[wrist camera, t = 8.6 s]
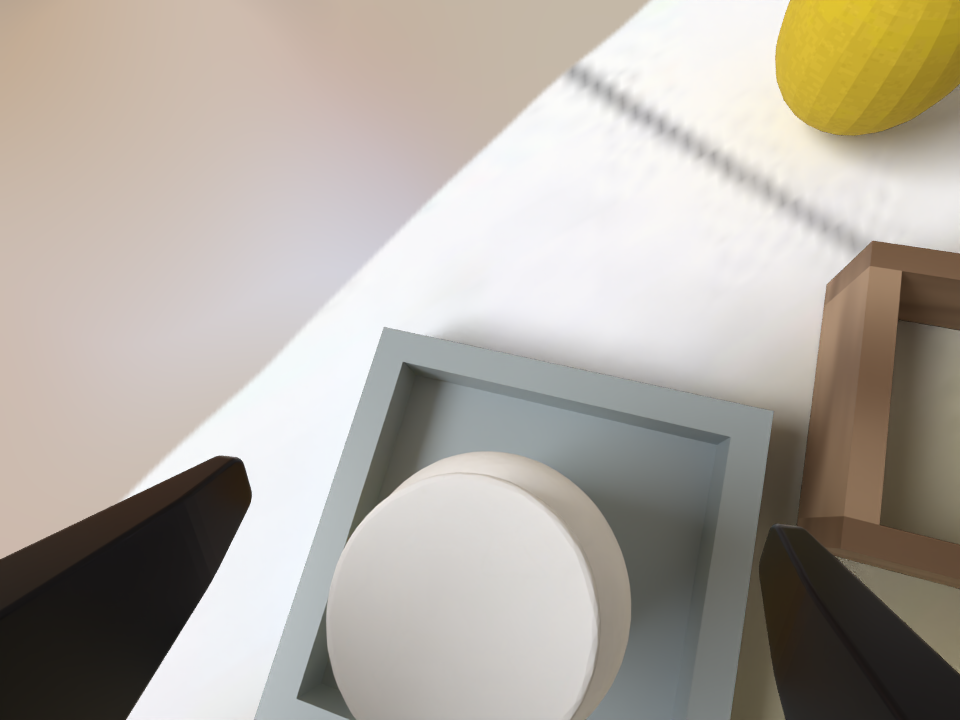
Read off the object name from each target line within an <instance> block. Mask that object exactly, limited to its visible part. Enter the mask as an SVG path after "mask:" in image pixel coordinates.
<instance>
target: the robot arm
mask: <svg viewBox="0 0 960 720" xmlns="http://www.w3.org/2000/svg"><path fill="white" fill-rule="evenodd" d="M251 498H252V492H251V487H250V484H249V480H248V477H247V473H246V470H245V466H244V463H243V462H242V460H241V459H239V458H237V457H230V456H216V457H214V458H212V459H209V460H207V461H205V462H203V463H201V464H199V465H197V466H195V467H193V468H191V469H188V470H186V471H184V472H182V473H180V474H178V475H176V476H174V477H172V478H170V479H168V480H165V481H163V482H161V483H159V484H157V485H155V486H153V487H151V488H149V489H147V490H145V491H142V492H140V493H138V494H136V495H134V496H132V497H130V498H128V499H126V500H124V501H121V502H119V503H117V504H115V505H113V506H111V507H109V508H107V509H105V510H103V511H101V512H98V513H96V514H94V515H92V516H90V517H88V518H86V519H84V520H82V521H80V522H78V523H76V524H74V525H71V526H69V527H67V528H65V529H63V530H61V531H59V532H57V533H54V534H53V535H50V536H48V537H46V538H44V539H42V540H40V541H38V542H36V543H34V544H31V545H29V546H27V547H25V548H23V549H21V550H19V551H17V552H15V553H13V554H11V555H9V556H6V557H5V558H2V559H0V720H126V719H127V718H128V716H129V714H130V713H131V711H132V709H133V708H134V706H135V705H136V703H137V701H138V700H139V698H140V697H141V695H142V693H143V692H144V690H145V689H146V687H147V685H148V684H149V682H150V680H151V679H152V677H153V676H154V674H155V672H156V671H157V669H158V668H159V666H160V664H161V663H162V661H163V659H164V658H165V656H166V655H167V653H168V651H169V650H170V648H171V647H172V645H173V643H174V642H175V640H176V639H177V637H178V635H179V634H180V632H181V630H182V629H183V627H184V626H185V624H186V622H187V621H188V619H189V618H190V616H191V614H192V613H193V611H194V609H195V608H196V606H197V605H198V603H199V601H200V600H201V598H202V597H203V595H204V593H205V592H206V590H207V588H208V587H209V585H210V583H211V581H212V580H213V578H214V576H215V574H216V572H217V570H218V568H219V567H220V565H221V563H222V560H223V558H224V556H225V554H226V552H227V550H228V548H229V546H230V544H231V542H232V540H233V538H234V536H235V534H236V532H237V530H238V528H239V526H240V524H241V522H242V520H243V518H244V516H245V514H246V512H247V510H248V508H249V505H250V503H251ZM759 576H760V584H761V590H762V597H763V604H764V611H765V618H766V624H767V631H768V638H769V645H770V652H771V658H772V664H773V670H774V676H775V680H776V684H777V688H778V693H779V696H780V700H781V704H782V708H783V711H784V715H785V719H786V720H960V674H959V673H958V672H957V671H956V670H955V669H954V668H952V667H951V666H950V665H949V664H948V663H947V662H946V661H945V660H944V659H943V658H942V657H941V656H940V655H939V654H938V653H937V652H935V651H934V650H933V649H932V648H931V647H930V646H929V645H928V644H927V643H926V642H925V641H924V640H923V639H922V638H921V637H920V636H919V635H917V634H916V633H915V632H914V631H913V630H912V629H911V628H910V627H909V626H908V625H907V624H906V623H905V622H904V621H903V620H902V619H900V618H899V617H898V616H897V615H896V614H895V613H894V612H893V611H892V610H891V609H890V608H889V607H888V606H887V605H886V604H885V603H883V602H882V601H881V600H880V599H879V598H878V597H877V596H876V595H875V594H874V593H873V592H872V591H871V590H870V589H869V588H868V587H866V586H865V585H864V584H863V583H862V582H861V581H860V580H859V579H858V578H857V577H856V576H855V575H854V574H853V573H852V572H851V571H849V570H848V569H847V568H846V567H845V566H844V565H843V564H842V563H841V562H840V561H839V560H838V559H837V558H836V557H835V556H834V555H833V554H831V553H830V552H829V551H828V550H827V549H826V548H825V547H824V546H823V545H822V544H821V543H820V542H819V541H818V540H817V539H816V538H814V537H813V536H812V535H811V534H810V533H809V532H808V531H807V530H806V529H804V528H802V527H799V526H793V525H785V524H775V525H773V526H772V527H771V529H770V531H769V534H768V537H767V540H766V543H765V547H764V550H763V553H762V556H761V559H760V565H759Z"/></svg>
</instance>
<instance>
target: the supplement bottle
mask: <svg viewBox="0 0 960 720" xmlns="http://www.w3.org/2000/svg"><path fill="white" fill-rule="evenodd" d="M630 623H631V593H630V584H629V578H628V573H627V569H626V565H625V561H624V558H623V555H622V552H621V549H620V547H619V545H618V542H617V540H616V538H615V536H614V534H613V532H612V530H611V528H610V526H609V524H608V522H607V521H606V519H605V517H604V516H603V514H602V513H601V512H600V510H599V509H598V507H597V506H596V505H595V504H594V503H593V501H592V500H591V499H590V498H589V497H588V496H587V495H586V494H585V493H584V492H583V491H582V490H581V489H580V488H579V487H578V486H576V485H575V484H574V483H573V482H572V481H570V480H569V479H568V478H566V477H565V476H563V475H562V474H561V473H559V472H558V471H556V470H554V469H552V468H550V467H549V466H547V465H545V464H543V463H540V462H538V461H535V460H532V459H530V458H527V457H524V456H520V455H516V454H510V453H505V452H493V451H480V452H470V453H464V454H459V455H455V456H451V457H448V458H444V459H442V460H439V461H437V462H435V463H433V464H431V465H429V466H427V467H425V468H423V469H421V470H420V471H418V472H417V473H415V474H414V475H412V476H411V477H410V478H408V479H407V480H406V481H404V482H403V483H402V484H401V485H400V486H399V487H397V488H396V489H395V490H394V491H393V492H392V493H391V495H390V496H389V497H387V498H386V499H384V500H383V501H382V502H381V503H380V504H378V505H377V506H376V507H375V508H374V509H373V510H372V511H371V512H370V513H369V514H368V515H367V516H366V517H365V518H364V519H363V521H362V522H361V523H360V524H359V526H358V527H357V528H356V530H355V531H354V532H353V534H352V535H351V537H350V538H349V540H348V542H347V544H346V546H345V548H344V550H343V551H342V553H341V556H340V558H339V560H338V563H337V565H336V568H335V572H334V575H333V578H332V582H331V586H330V590H329V596H328V602H327V614H326V631H327V646H328V653H329V657H330V661H331V666H332V670H333V674H334V677H335V679H336V682H337V685H338V688H339V690H340V692H341V694H342V696H343V698H344V700H345V702H346V704H347V706H348V708H349V710H350V712H351V713H352V715H353V716H354V717H355V719H356V720H585V719H586V718H587V717H589V715H590V714H591V713H592V712H593V711H594V710H595V709H596V707H597V706H598V705H599V703H600V702H601V701H602V699H603V698H604V697H605V695H606V694H607V692H608V690H609V689H610V687H611V686H612V683H613V681H614V679H615V677H616V675H617V673H618V671H619V669H620V666H621V664H622V661H623V657H624V654H625V650H626V647H627V643H628V637H629V630H630Z"/></svg>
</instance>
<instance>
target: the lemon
mask: <svg viewBox="0 0 960 720" xmlns="http://www.w3.org/2000/svg"><path fill="white" fill-rule="evenodd" d="M775 60H776V77H777V83H778V86H779V88H780V91H781V94H782V96H783V99H784V101H785V102H786V104H787V105H788V106H789V108H790V109H791V110H792V112H793V113H794V114H795V116H797V117H798V118H799V119H801V120H802V121H803V122H805V123H806V124H807V125H809V126H812V127H814V128H816V129H818V130H820V131H823V132H828V133H832V134H836V135H854V136H855V135H863V134H869V133H875V132H880V131H883V130H886V129H889V128H892V127H894V126H897V125H900V124H902V123H905V122H907V121H909V120H911V119H913V118H915V117H916V116H918V115H919V114H921V113H922V112H924V111H925V110H927V109H928V108H930V107H931V106H933V105H934V104H936V103H937V102H939V101H940V100H941V99H943V98H944V97H945V96H946V95H948V94H949V93H950V92H951V91H953V90H954V89H955V88H956V87H957V86H958V85H959V84H960V0H790V2H789V5H788V7H787V10H786V13H785V16H784V19H783V23H782V26H781V29H780V33H779V36H778V40H777V46H776V56H775Z"/></svg>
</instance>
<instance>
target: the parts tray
mask: <svg viewBox="0 0 960 720" xmlns="http://www.w3.org/2000/svg"><path fill="white" fill-rule="evenodd" d="M773 413H774V411H771V410H766V409H762V408H757V407H752V406H748V405H743V404H738V403H734V402H729V401H725V400H720V399H715V398H711V397H706V396H701V395H697V394H692V393H688V392H683V391H678V390H674V389H669V388H664V387H660V386H655V385H651V384H646V383H641V382H637V381H632V380H627V379H623V378H618V377H614V376H609V375H604V374H600V373H595V372H590V371H586V370H581V369H577V368H572V367H567V366H563V365H558V364H553V363H549V362H544V361H540V360H535V359H530V358H526V357H521V356H516V355H512V354H507V353H502V352H498V351H493V350H489V349H484V348H479V347H475V346H470V345H465V344H461V343H456V342H452V341H447V340H442V339H438V338H433V337H428V336H424V335H419V334H415V333H410V332H405V331H401V330H396V329H391V328H387V327H384V328H383V331H382V334H381V337H380V341H379V344H378V347H377V350H376V353H375V356H374V359H373V362H372V365H371V368H370V371H369V374H368V377H367V380H366V383H365V386H364V389H363V392H362V395H361V398H360V401H359V404H358V407H357V410H356V413H355V416H354V419H353V422H352V425H351V428H350V431H349V434H348V437H347V440H346V443H345V446H344V449H343V452H342V455H341V458H340V461H339V464H338V467H337V470H336V473H335V476H334V479H333V482H332V485H331V488H330V492H329V495H328V498H327V501H326V504H325V507H324V510H323V513H322V516H321V519H320V522H319V525H318V528H317V531H316V534H315V537H314V540H313V543H312V546H311V549H310V552H309V555H308V558H307V561H306V564H305V567H304V570H303V573H302V576H301V579H300V582H299V585H298V588H297V591H296V594H295V597H294V600H293V603H292V606H291V609H290V612H289V615H288V618H287V621H286V624H285V627H284V630H283V633H282V636H281V639H280V643H279V646H278V649H277V652H276V655H275V658H274V661H273V664H272V667H271V670H270V673H269V676H268V679H267V682H266V685H265V688H264V691H263V694H262V697H261V700H260V703H259V706H258V709H257V712H256V715H255V718H254V720H356V719H355V717H354V716H353V715H352V713H351V712H350V710H349V708H348V706H347V704H346V702H345V700H344V698H343V696H342V694H341V692H340V690H339V688H338V685H337V682H336V679H335V677H334V674H333V670H332V666H331V661H330V657H329V653H328V646H327V631H326V614H327V602H328V596H329V590H330V586H331V582H332V578H333V575H334V572H335V568H336V565H337V563H338V560H339V558H340V556H341V553H342V551H343V550H344V548H345V546H346V544H347V542H348V540H349V538H350V537H351V535H352V534H353V532H354V531H355V530H356V528H357V527H358V526H359V524H360V523H361V522H362V521H363V519H364V518H365V517H366V516H367V515H368V514H369V513H370V512H371V511H372V510H373V509H374V508H375V507H376V506H377V505H378V504H380V503H381V502H382V501H383V500H384V499H386V498H387V497H389V496H390V495H391V493H392V492H393V491H394V490H395V489H396V488H397V487H399V486H400V485H401V484H402V483H403V482H404V481H406V480H407V479H408V478H410V477H411V476H412V475H414V474H415V473H417V472H418V471H420V470H421V469H423V468H425V467H427V466H429V465H431V464H433V463H435V462H437V461H439V460H442V459H444V458H448V457H451V456H455V455H459V454H464V453H470V452H480V451H493V452H505V453H510V454H516V455H520V456H524V457H527V458H530V459H532V460H535V461H538V462H540V463H543V464H545V465H547V466H549V467H550V468H552V469H554V470H556V471H558V472H559V473H561V474H562V475H563V476H565V477H566V478H568V479H569V480H570V481H572V482H573V483H574V484H575V485H576V486H578V487H579V488H580V489H581V490H582V491H583V492H584V493H585V494H586V495H587V496H588V497H589V498H590V499H591V500H592V501H593V503H594V504H595V505H596V506H597V507H598V509H599V510H600V512H601V513H602V514H603V516H604V517H605V519H606V521H607V522H608V524H609V526H610V528H611V530H612V532H613V534H614V536H615V538H616V540H617V542H618V545H619V547H620V549H621V552H622V555H623V558H624V561H625V565H626V569H627V573H628V578H629V584H630V593H631V623H630V630H629V637H628V643H627V647H626V650H625V654H624V657H623V661H622V664H621V666H620V669H619V671H618V673H617V675H616V677H615V679H614V681H613V683H612V686H611V687H610V689H609V690H608V692H607V694H606V695H605V697H604V698H603V699H602V701H601V702H600V703H599V705H598V706H597V707H596V709H595V710H594V711H593V712H592V713H591V714H590V715H589V717H587V718H586V719H585V720H730V717H731V710H732V703H733V696H734V689H735V682H736V675H737V668H738V661H739V653H740V646H741V639H742V632H743V625H744V618H745V611H746V604H747V597H748V590H749V583H750V576H751V568H752V561H753V554H754V547H755V540H756V533H757V526H758V519H759V512H760V505H761V498H762V491H763V484H764V476H765V469H766V462H767V455H768V448H769V441H770V434H771V427H772V420H773Z"/></svg>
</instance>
